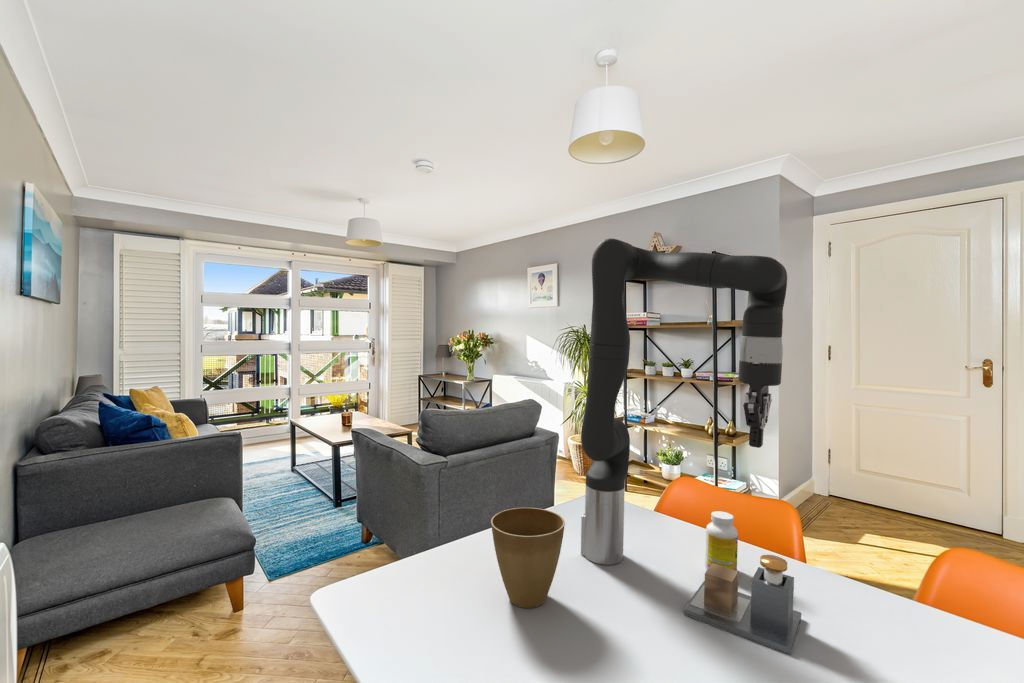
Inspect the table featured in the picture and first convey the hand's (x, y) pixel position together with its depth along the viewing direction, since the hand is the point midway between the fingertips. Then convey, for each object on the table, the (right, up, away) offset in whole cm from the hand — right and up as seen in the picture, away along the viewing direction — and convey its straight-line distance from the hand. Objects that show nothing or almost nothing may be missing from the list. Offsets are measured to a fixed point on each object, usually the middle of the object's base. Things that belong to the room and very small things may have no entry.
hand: (755, 446), depth 96 cm
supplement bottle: (-1, -32, +14) cm, 35 cm away
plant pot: (-46, -32, +2) cm, 55 cm away
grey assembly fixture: (-4, -32, -3) cm, 32 cm away
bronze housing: (-7, -31, -1) cm, 31 cm away
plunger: (0, -31, -7) cm, 31 cm away
